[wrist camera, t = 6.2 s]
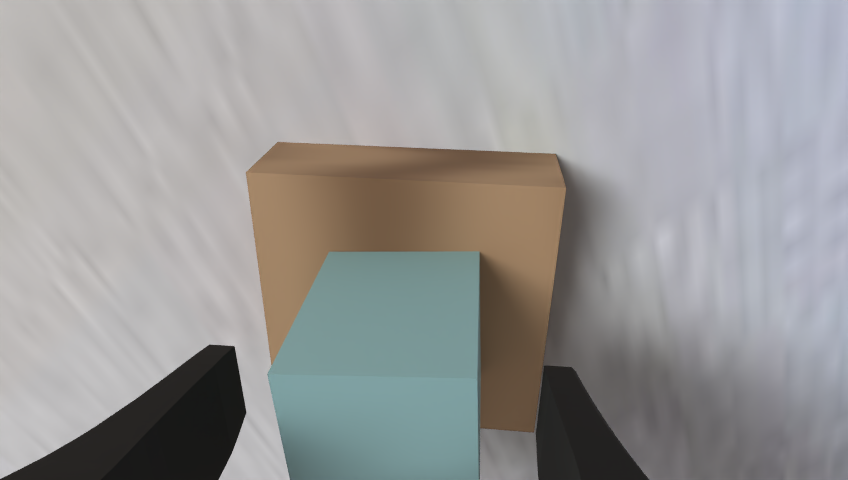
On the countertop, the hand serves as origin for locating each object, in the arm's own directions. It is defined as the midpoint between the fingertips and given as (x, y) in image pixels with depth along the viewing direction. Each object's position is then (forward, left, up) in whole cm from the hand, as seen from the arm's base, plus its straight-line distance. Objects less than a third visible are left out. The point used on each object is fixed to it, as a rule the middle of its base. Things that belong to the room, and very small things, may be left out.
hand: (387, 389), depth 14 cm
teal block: (0, 0, -3) cm, 3 cm away
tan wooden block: (0, 0, -6) cm, 6 cm away
